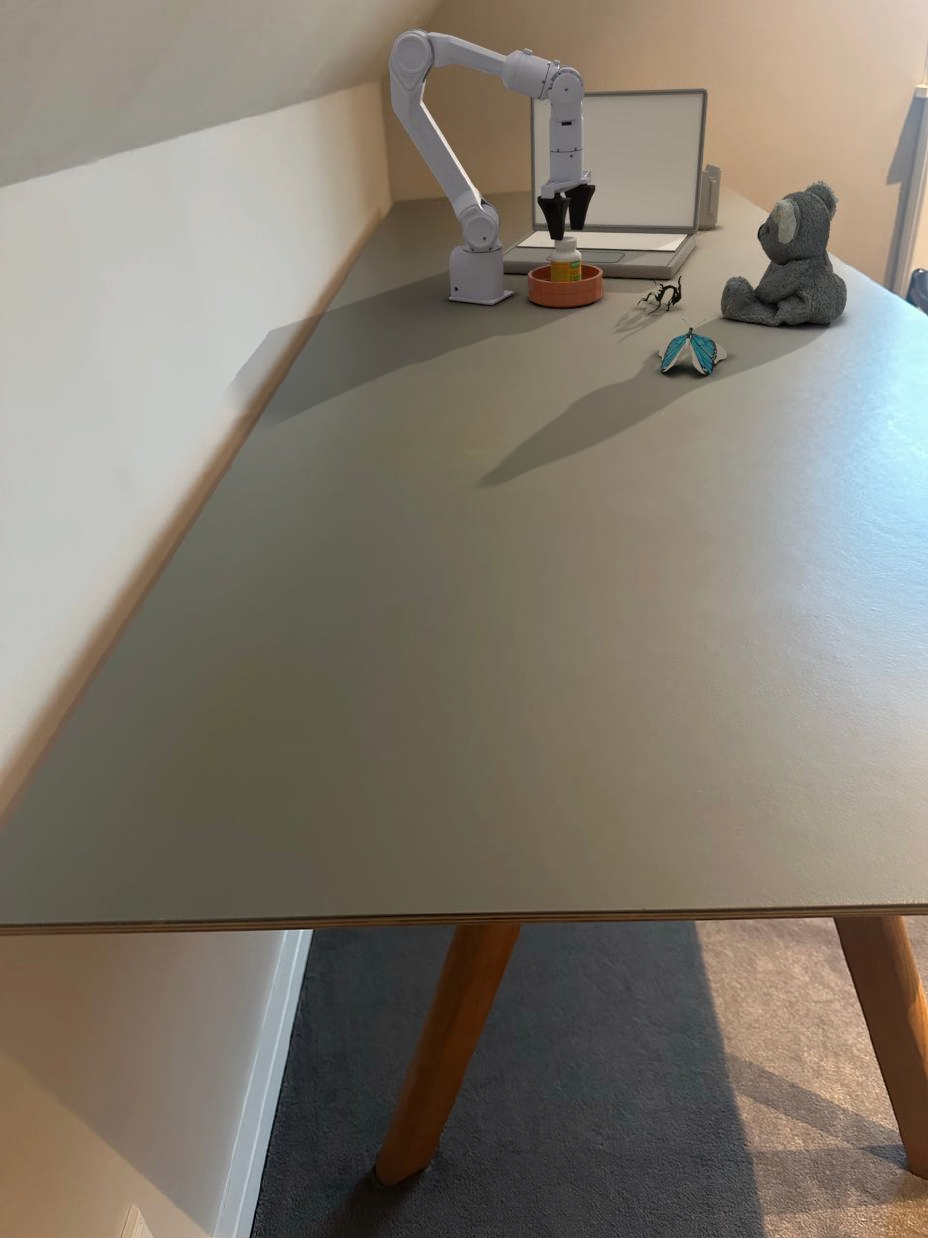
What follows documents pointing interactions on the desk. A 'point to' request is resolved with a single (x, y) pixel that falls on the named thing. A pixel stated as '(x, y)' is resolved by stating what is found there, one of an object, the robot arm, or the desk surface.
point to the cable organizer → (709, 197)
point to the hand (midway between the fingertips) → (567, 234)
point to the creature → (675, 297)
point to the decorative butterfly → (693, 351)
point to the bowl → (565, 287)
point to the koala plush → (792, 265)
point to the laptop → (626, 182)
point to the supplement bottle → (566, 261)
